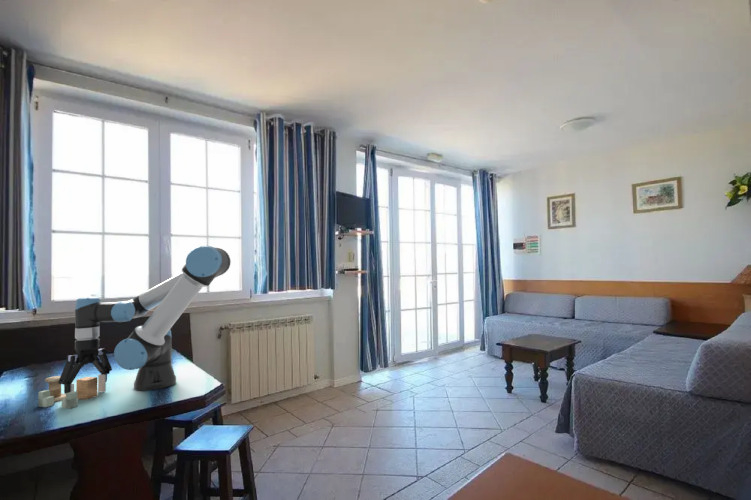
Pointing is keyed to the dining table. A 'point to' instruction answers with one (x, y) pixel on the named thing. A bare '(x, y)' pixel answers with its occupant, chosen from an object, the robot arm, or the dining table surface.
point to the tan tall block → (86, 387)
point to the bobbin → (55, 388)
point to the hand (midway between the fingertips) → (86, 396)
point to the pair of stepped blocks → (48, 400)
